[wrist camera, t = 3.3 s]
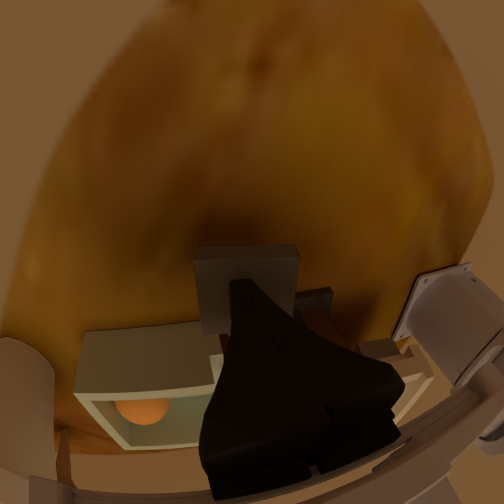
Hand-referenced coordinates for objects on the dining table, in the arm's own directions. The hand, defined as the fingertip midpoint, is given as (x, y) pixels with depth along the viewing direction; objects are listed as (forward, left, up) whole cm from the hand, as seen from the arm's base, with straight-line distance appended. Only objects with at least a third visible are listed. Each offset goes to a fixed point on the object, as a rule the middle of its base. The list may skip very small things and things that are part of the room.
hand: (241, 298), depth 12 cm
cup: (+5, +10, -5) cm, 12 cm away
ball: (+7, +10, -2) cm, 12 cm away
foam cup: (+18, +9, -5) cm, 20 cm away
